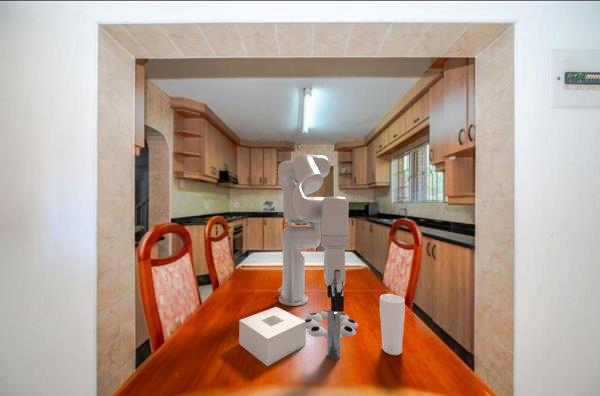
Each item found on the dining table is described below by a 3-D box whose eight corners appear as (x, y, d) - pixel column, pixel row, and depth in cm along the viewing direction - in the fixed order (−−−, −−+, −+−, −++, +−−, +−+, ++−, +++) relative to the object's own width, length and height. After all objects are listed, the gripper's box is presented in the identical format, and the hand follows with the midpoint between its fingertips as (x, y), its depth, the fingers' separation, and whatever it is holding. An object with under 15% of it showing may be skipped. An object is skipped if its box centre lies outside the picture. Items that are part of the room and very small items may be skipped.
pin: (324, 355, 69) (324, 311, 69) (332, 350, 71) (333, 308, 72) (335, 361, 66) (335, 316, 66) (343, 355, 69) (343, 312, 69)
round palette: (325, 308, 100) (325, 303, 100) (369, 326, 86) (369, 320, 86) (289, 325, 87) (289, 319, 87) (334, 349, 73) (335, 342, 73)
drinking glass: (375, 344, 74) (376, 293, 75) (397, 343, 75) (397, 293, 75) (385, 358, 68) (385, 303, 68) (409, 357, 68) (409, 302, 68)
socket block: (239, 343, 74) (239, 320, 74) (276, 327, 84) (276, 306, 84) (267, 366, 64) (267, 338, 64) (305, 344, 74) (305, 321, 74)
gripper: (319, 237, 78) (319, 292, 77) (323, 246, 61) (323, 317, 60) (343, 237, 78) (343, 293, 77) (354, 246, 60) (355, 317, 60)
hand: (335, 303), depth 68 cm, fingers open, 9 cm apart
